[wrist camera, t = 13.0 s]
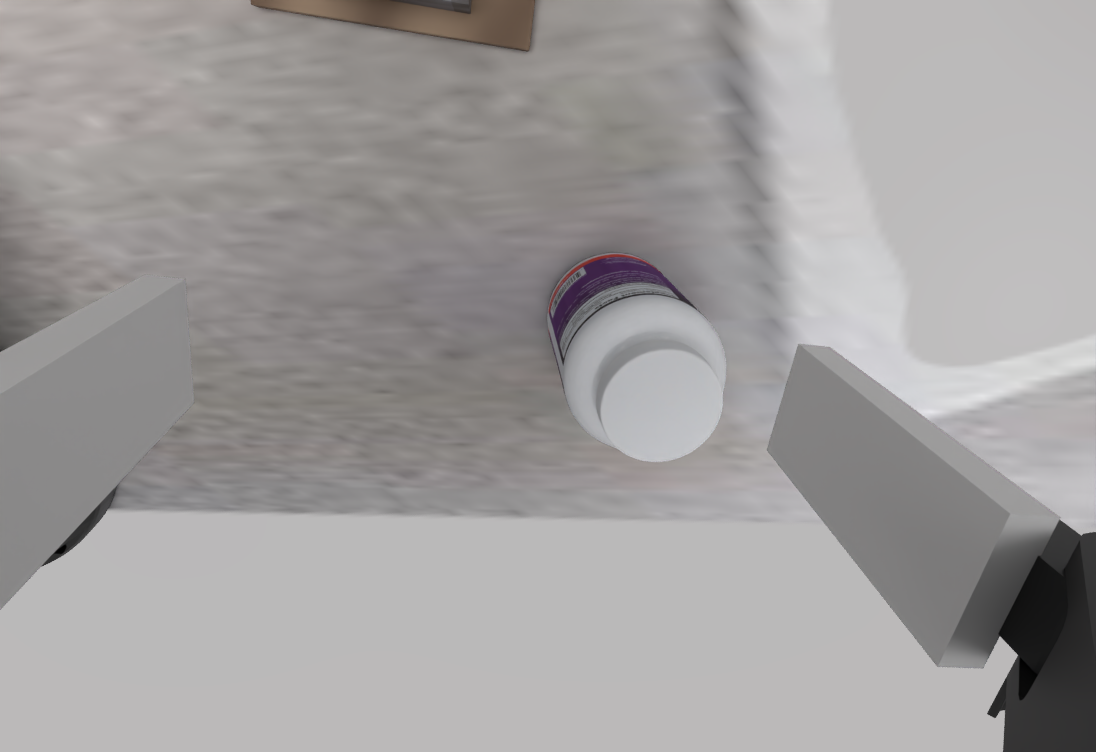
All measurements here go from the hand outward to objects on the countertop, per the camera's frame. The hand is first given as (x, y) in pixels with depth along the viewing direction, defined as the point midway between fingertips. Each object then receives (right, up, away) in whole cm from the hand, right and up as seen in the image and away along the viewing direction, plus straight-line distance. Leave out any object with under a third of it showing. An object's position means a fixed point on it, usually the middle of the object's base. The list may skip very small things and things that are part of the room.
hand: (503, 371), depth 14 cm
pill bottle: (+5, +4, +28) cm, 29 cm away
